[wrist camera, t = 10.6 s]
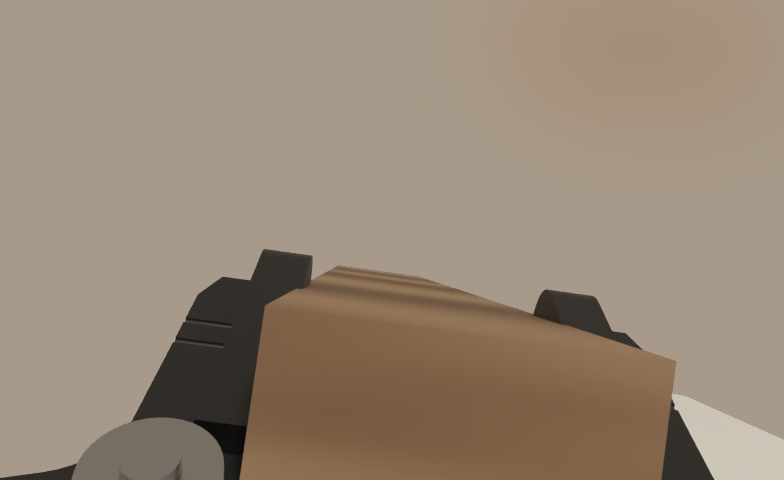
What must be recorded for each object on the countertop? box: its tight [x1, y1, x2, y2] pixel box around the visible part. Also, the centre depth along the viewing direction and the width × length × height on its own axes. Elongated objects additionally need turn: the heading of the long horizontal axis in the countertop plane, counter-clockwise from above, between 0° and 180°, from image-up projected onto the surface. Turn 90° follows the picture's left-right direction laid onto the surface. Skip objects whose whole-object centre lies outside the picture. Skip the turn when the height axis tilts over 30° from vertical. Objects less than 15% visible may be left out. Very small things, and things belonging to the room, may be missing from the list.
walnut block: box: [240, 266, 676, 480], centre depth 17 cm, size 24×4×4 cm, turn 3°
